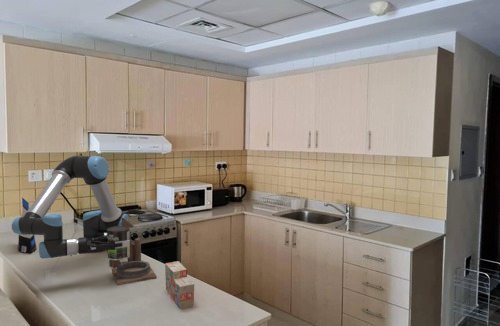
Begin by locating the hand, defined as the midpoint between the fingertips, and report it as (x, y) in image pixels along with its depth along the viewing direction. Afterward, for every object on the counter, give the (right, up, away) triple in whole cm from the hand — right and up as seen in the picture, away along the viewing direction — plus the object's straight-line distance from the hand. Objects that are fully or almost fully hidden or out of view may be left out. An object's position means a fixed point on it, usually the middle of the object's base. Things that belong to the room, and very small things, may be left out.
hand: (127, 240), depth 180 cm
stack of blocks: (+29, -20, -22) cm, 42 cm away
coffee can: (-4, -8, -1) cm, 9 cm away
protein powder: (-75, -15, +42) cm, 87 cm away
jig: (+2, -18, +3) cm, 18 cm away
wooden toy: (-7, -17, +18) cm, 26 cm away
